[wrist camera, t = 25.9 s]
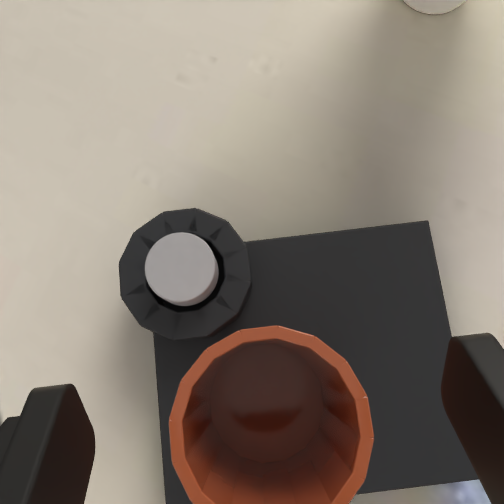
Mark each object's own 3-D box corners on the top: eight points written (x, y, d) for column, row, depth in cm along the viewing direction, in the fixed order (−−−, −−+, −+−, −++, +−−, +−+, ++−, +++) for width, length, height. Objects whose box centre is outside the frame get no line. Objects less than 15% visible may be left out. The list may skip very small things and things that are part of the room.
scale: (153, 508, 23) (134, 536, 19) (134, 235, 25) (115, 216, 22) (465, 470, 23) (501, 490, 19) (412, 202, 26) (436, 179, 22)
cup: (209, 475, 21) (178, 554, 13) (197, 344, 22) (161, 339, 14) (338, 459, 21) (389, 527, 13) (319, 329, 23) (355, 315, 14)
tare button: (155, 310, 21) (146, 306, 20) (150, 245, 22) (141, 236, 20) (222, 301, 21) (218, 297, 20) (215, 237, 22) (211, 228, 20)
